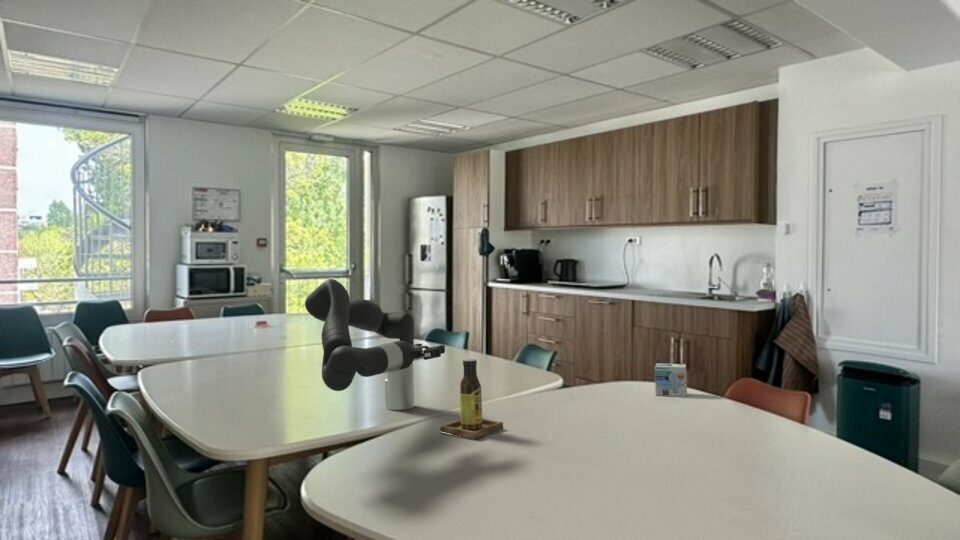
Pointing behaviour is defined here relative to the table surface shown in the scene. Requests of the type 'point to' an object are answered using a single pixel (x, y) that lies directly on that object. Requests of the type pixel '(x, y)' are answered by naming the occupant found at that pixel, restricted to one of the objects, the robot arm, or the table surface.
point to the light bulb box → (670, 380)
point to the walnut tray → (486, 429)
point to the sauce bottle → (470, 397)
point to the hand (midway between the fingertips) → (432, 348)
